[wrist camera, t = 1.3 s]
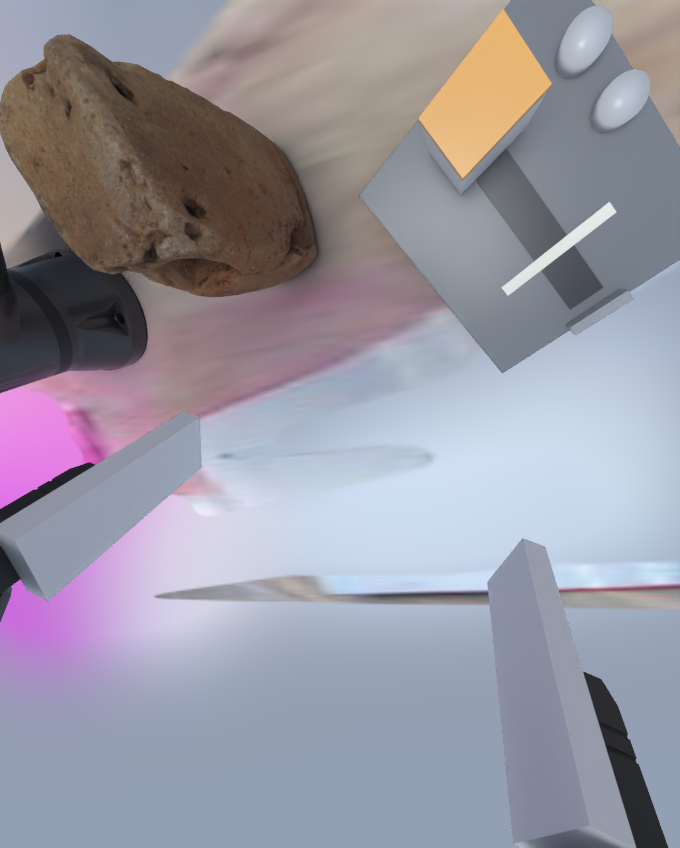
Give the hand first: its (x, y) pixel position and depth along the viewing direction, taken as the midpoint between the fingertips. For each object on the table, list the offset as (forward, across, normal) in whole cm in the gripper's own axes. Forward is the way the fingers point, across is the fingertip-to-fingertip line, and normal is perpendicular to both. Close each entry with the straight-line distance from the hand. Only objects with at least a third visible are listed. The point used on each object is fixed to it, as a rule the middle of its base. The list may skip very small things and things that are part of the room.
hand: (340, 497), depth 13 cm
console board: (+24, +5, +12) cm, 28 cm away
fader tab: (+22, 0, +16) cm, 27 cm away
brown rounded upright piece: (+24, -16, +8) cm, 30 cm away
